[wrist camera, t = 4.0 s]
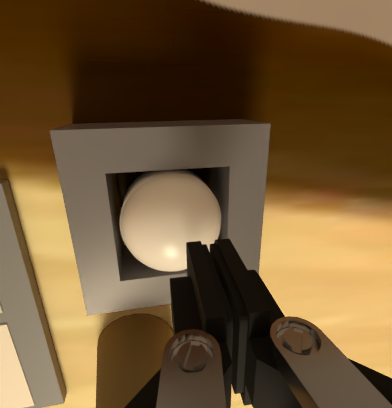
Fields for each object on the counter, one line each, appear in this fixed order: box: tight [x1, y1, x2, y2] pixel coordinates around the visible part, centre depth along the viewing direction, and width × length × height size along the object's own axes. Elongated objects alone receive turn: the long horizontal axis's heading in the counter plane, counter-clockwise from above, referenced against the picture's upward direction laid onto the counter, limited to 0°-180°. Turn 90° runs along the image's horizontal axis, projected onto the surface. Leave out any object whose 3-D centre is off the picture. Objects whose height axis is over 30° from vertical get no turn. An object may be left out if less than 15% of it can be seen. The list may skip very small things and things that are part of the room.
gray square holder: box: [50, 119, 271, 316], centre depth 16 cm, size 10×10×4 cm
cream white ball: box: [120, 169, 221, 272], centre depth 15 cm, size 5×5×5 cm
